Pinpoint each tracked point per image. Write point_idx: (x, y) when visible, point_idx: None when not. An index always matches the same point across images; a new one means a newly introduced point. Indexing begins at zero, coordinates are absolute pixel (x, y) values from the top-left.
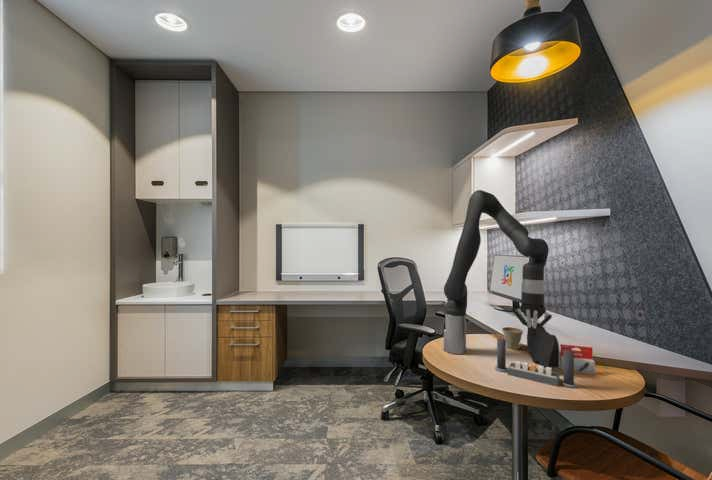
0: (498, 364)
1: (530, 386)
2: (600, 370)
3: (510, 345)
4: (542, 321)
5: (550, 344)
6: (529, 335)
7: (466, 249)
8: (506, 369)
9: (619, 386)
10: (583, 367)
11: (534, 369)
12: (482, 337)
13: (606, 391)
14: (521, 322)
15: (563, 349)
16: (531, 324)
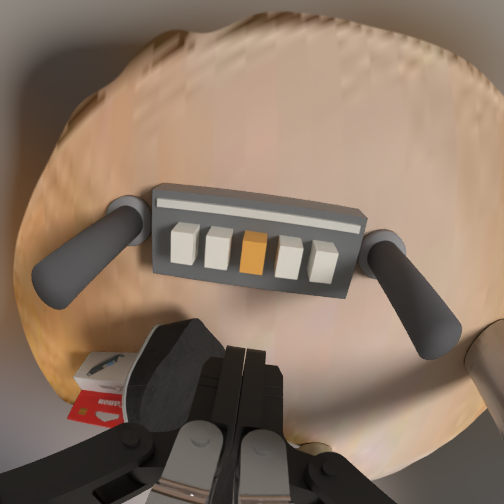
0: (401, 251)
1: (266, 118)
2: None
3: (320, 450)
4: (82, 482)
5: (166, 407)
6: (266, 368)
7: None
8: (364, 248)
9: None
10: (105, 363)
11: (247, 234)
12: (380, 466)
13: (48, 232)
14: (360, 474)
15: None
16: (238, 476)
